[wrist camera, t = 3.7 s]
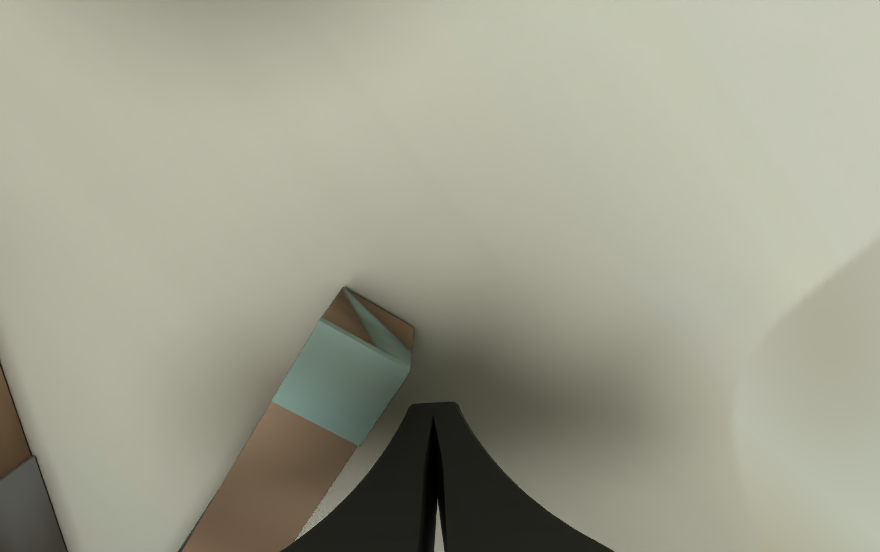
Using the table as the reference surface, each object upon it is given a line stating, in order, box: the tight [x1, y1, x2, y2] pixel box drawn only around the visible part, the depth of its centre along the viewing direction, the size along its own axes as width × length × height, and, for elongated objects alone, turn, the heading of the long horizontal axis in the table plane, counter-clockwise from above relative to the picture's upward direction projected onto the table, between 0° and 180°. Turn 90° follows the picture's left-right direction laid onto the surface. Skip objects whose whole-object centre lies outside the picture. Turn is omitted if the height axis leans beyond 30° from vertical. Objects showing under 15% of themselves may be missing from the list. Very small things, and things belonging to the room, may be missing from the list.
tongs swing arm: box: [178, 287, 414, 552], centre depth 13 cm, size 15×3×3 cm, turn 148°
